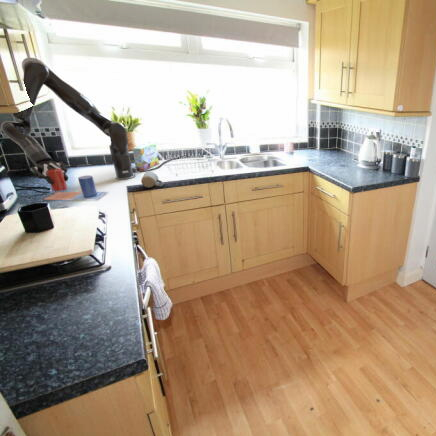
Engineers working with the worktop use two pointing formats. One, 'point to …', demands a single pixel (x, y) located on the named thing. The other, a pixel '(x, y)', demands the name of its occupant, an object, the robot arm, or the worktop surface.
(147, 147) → the snack box
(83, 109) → the robot arm
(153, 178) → the ceramic mug
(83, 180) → the blue upright cylinder
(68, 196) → the sorting board
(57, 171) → the red upright cylinder
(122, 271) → the worktop surface
